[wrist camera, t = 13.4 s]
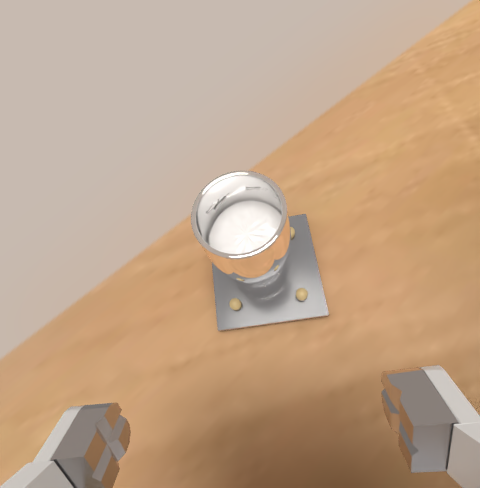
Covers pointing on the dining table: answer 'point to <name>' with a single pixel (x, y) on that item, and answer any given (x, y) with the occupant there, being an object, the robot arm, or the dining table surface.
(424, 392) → the robot arm
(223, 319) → the coaster
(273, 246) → the beer glass
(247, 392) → the dining table surface
